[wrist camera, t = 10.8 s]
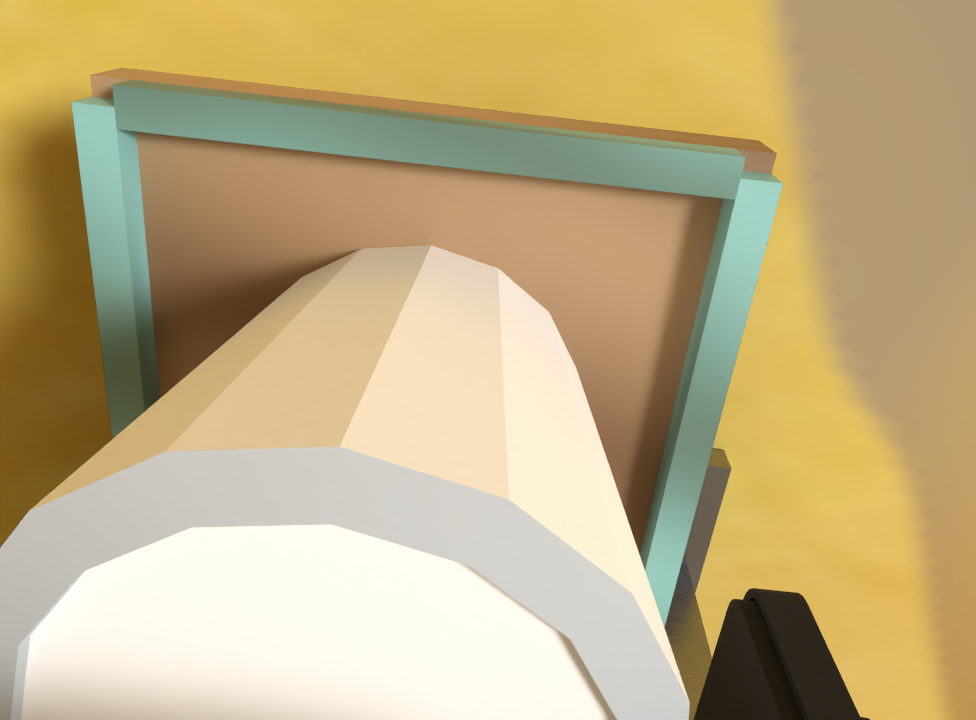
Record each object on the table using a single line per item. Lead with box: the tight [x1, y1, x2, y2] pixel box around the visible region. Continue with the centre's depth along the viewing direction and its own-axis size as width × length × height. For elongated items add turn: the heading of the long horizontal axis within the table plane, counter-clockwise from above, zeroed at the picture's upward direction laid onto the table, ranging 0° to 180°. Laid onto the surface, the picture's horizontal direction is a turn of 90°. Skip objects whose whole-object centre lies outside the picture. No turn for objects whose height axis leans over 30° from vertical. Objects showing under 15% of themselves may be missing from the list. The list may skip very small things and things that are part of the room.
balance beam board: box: [71, 68, 783, 627], centre depth 17 cm, size 24×10×2 cm, turn 174°
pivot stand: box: [664, 449, 731, 720], centre depth 18 cm, size 8×15×6 cm, turn 84°
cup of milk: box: [0, 245, 690, 720], centre depth 10 cm, size 7×7×7 cm
